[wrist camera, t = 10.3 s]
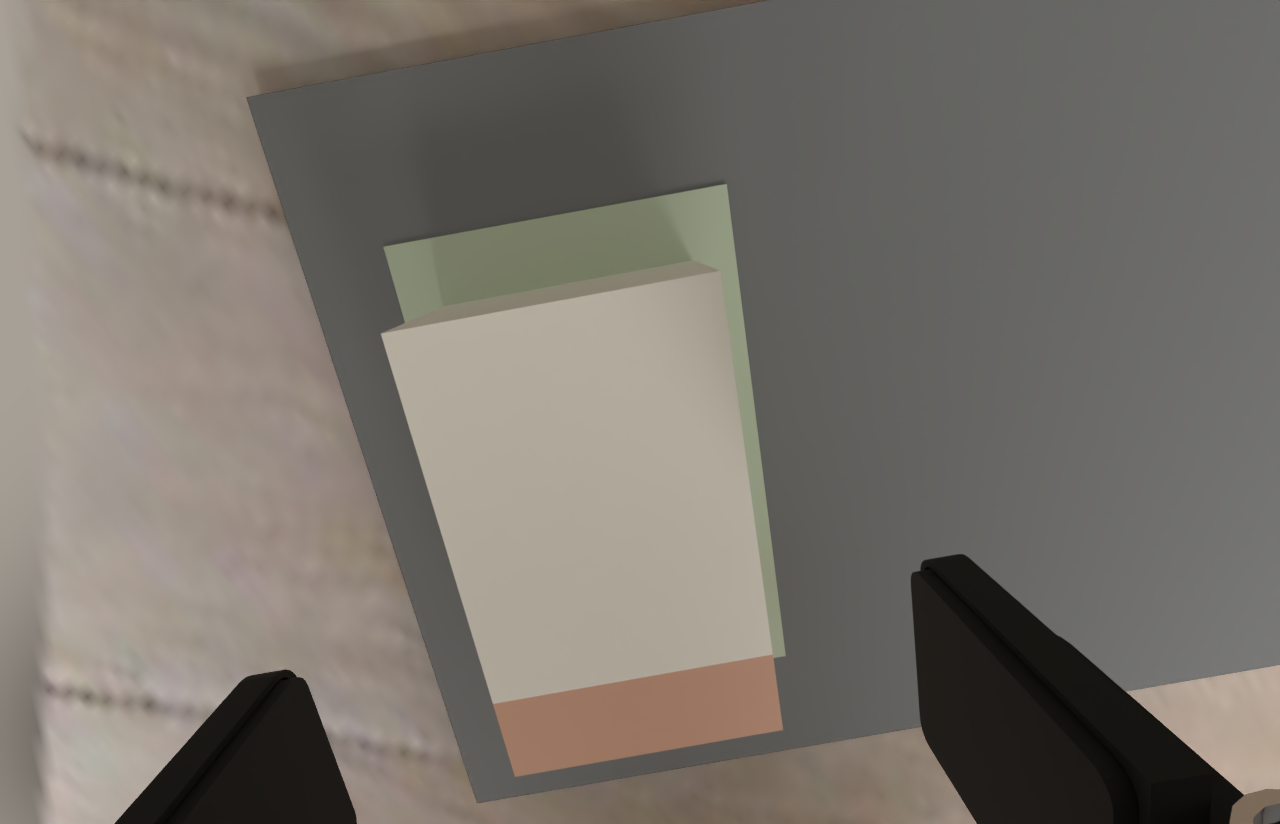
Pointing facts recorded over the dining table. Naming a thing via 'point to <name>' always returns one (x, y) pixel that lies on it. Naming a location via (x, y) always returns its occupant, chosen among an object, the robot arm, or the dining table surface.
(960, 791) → the robot arm
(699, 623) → the card box
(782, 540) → the mat
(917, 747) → the dining table surface
